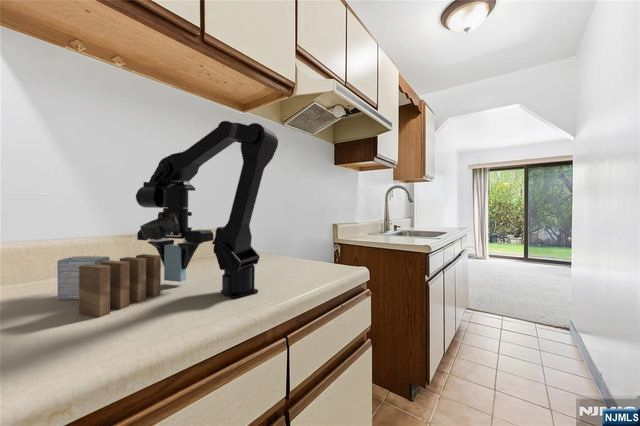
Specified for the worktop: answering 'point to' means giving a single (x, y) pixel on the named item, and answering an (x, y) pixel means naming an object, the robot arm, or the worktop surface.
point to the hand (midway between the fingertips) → (175, 268)
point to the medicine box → (73, 274)
